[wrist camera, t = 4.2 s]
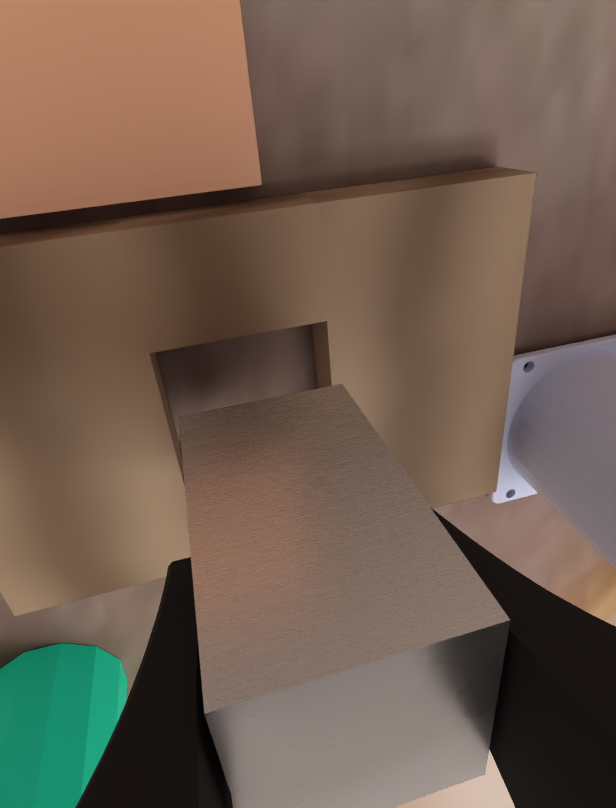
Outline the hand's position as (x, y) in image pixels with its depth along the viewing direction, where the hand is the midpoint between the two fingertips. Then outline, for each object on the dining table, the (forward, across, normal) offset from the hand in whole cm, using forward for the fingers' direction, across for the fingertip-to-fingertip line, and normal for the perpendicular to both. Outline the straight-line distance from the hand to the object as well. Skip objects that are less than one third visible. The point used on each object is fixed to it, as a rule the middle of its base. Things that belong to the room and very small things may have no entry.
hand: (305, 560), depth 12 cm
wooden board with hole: (+9, 0, 0) cm, 9 cm away
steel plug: (+4, 0, 0) cm, 4 cm away
